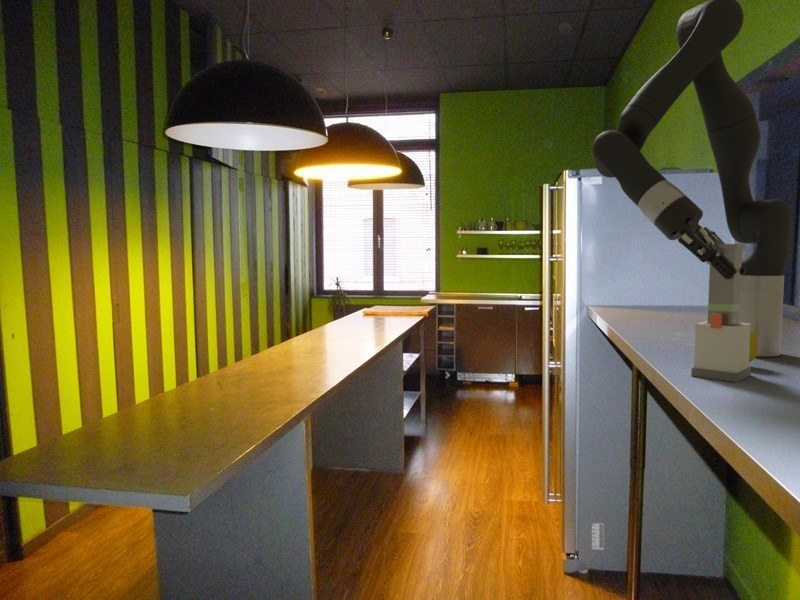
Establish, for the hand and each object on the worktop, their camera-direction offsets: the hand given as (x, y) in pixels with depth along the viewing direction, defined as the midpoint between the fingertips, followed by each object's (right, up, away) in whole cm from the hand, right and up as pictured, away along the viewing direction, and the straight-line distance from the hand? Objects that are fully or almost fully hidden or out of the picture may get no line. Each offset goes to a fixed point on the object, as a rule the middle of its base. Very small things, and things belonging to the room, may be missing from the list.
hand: (736, 275), depth 106 cm
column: (-1, -11, +2) cm, 11 cm away
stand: (-1, -18, +3) cm, 18 cm away
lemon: (+7, -18, +11) cm, 22 cm away
